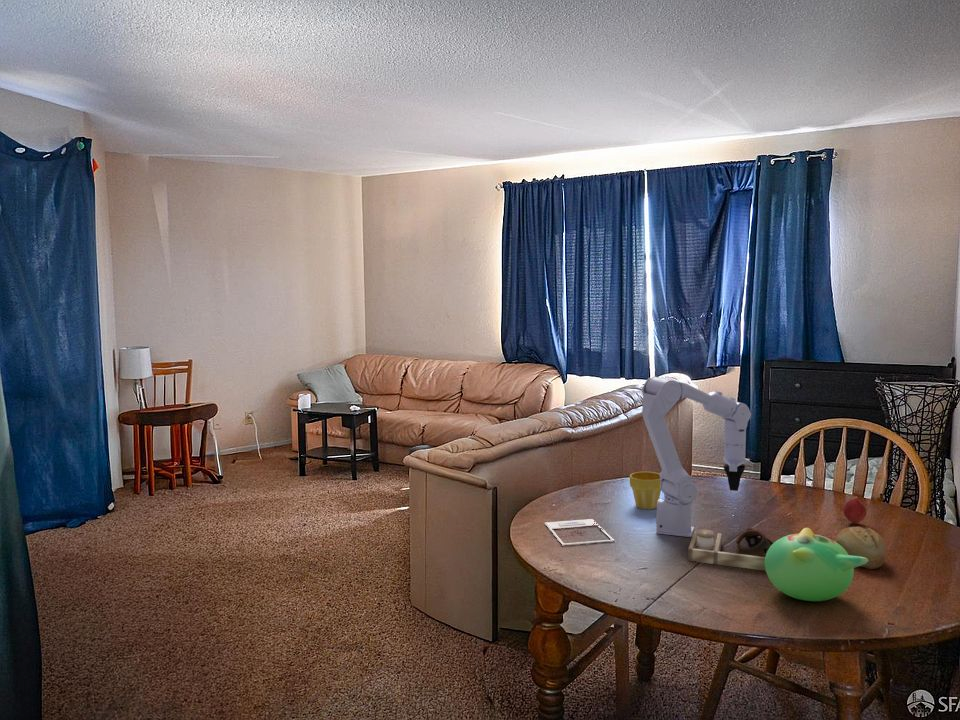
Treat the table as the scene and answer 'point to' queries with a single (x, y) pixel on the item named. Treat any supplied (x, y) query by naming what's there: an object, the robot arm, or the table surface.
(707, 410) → the robot arm
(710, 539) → the cream jar
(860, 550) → the bread roll
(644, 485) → the plant pot
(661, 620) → the table surface
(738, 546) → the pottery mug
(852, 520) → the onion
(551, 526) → the photo frame
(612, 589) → the table surface
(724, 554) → the bracket
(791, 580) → the toy bird
